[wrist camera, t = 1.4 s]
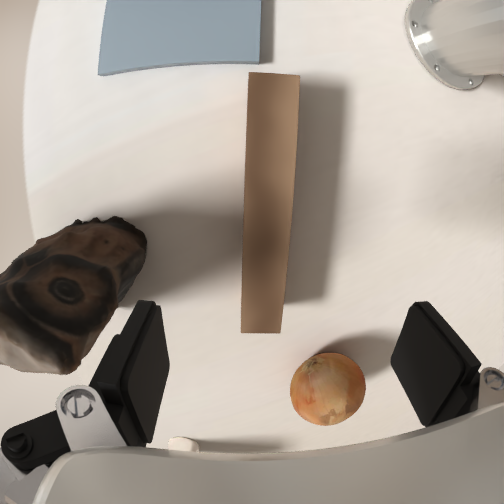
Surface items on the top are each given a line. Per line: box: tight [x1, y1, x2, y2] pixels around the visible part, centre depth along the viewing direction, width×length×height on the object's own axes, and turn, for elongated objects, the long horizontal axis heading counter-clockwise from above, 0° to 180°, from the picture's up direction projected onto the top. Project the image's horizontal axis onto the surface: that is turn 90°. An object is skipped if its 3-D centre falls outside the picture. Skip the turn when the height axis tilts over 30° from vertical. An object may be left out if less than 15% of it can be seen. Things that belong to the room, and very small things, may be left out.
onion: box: [290, 353, 366, 426], centre depth 34 cm, size 10×10×10 cm
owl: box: [0, 216, 147, 375], centre depth 22 cm, size 13×13×20 cm
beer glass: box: [168, 437, 199, 452], centre depth 40 cm, size 7×7×15 cm
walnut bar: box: [241, 72, 300, 333], centre depth 27 cm, size 4×24×6 cm, turn 178°
